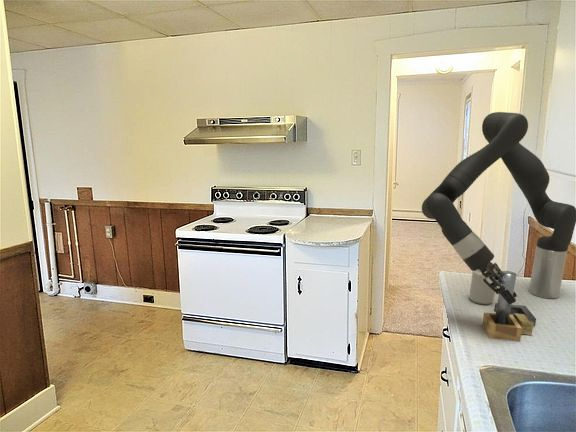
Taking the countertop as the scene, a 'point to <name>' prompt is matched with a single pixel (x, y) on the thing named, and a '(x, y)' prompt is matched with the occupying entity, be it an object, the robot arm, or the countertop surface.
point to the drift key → (524, 323)
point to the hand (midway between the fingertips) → (513, 299)
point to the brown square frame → (501, 328)
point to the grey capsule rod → (502, 305)
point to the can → (480, 289)
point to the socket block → (521, 312)
